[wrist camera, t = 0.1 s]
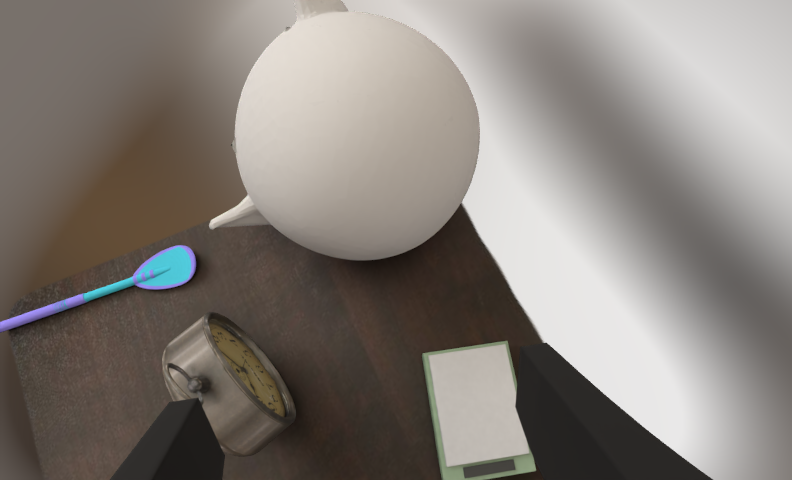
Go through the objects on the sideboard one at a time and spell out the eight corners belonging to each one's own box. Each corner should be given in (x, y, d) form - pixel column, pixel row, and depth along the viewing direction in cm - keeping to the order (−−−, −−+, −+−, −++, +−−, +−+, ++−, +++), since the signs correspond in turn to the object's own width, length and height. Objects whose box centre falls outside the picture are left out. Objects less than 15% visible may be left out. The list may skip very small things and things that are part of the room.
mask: (436, 43, 46) (251, -54, 34) (573, 79, 33) (357, -56, 21) (366, 226, 53) (192, 202, 41) (457, 313, 40) (243, 317, 28)
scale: (530, 467, 38) (538, 472, 36) (442, 482, 38) (445, 488, 36) (503, 342, 42) (509, 340, 40) (421, 354, 41) (423, 352, 39)
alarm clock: (311, 414, 40) (263, 430, 24) (261, 456, 38) (178, 501, 23) (244, 320, 42) (163, 281, 27) (195, 357, 41) (81, 338, 26)
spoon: (194, 241, 44) (189, 238, 43) (205, 278, 44) (200, 276, 42) (-70, 331, 41) (-83, 331, 40) (-64, 373, 40) (-77, 374, 39)
